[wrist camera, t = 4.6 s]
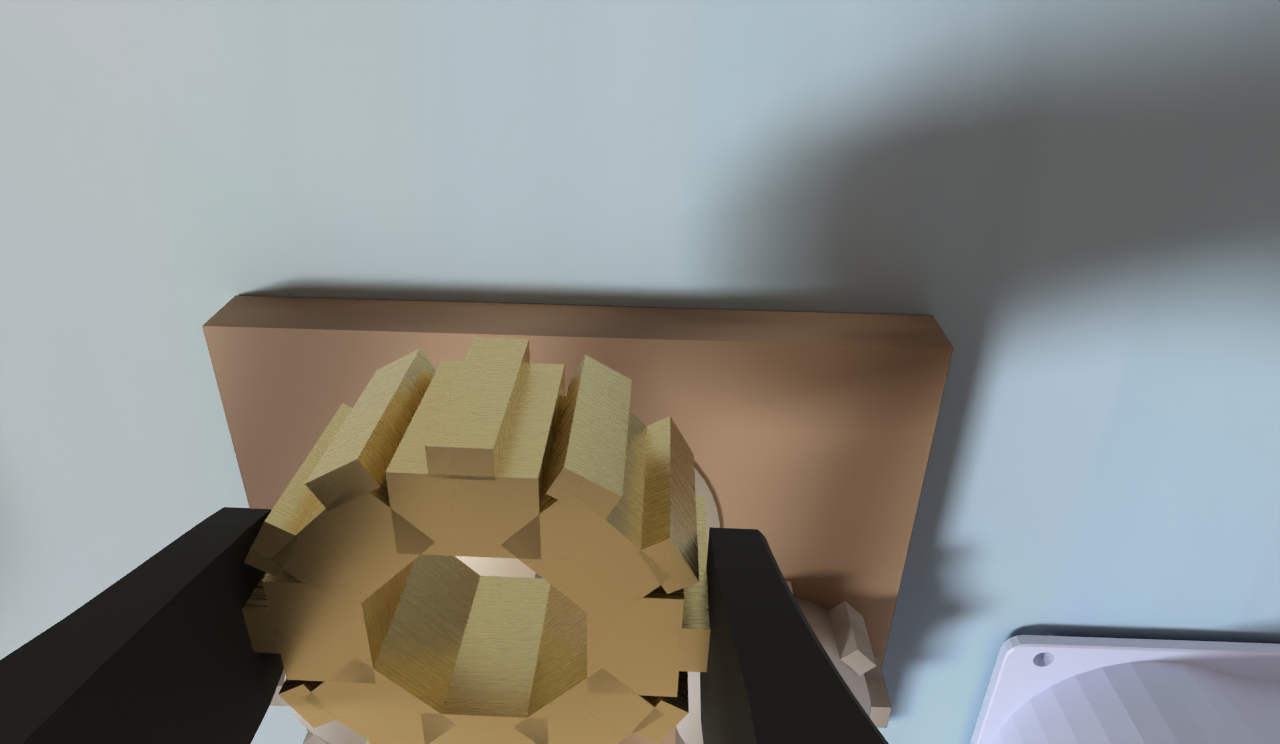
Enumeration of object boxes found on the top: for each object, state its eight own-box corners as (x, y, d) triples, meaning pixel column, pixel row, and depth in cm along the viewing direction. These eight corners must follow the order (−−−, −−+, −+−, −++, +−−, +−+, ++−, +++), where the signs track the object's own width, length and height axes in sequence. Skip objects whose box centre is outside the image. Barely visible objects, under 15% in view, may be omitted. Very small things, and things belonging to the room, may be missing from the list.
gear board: (932, 315, 18) (988, 403, 15) (847, 723, 24) (874, 845, 21) (235, 295, 18) (145, 377, 15) (331, 704, 25) (282, 822, 21)
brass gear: (716, 346, 11) (728, 457, 9) (692, 653, 13) (697, 798, 11) (288, 329, 11) (191, 437, 9) (349, 637, 14) (286, 780, 11)
